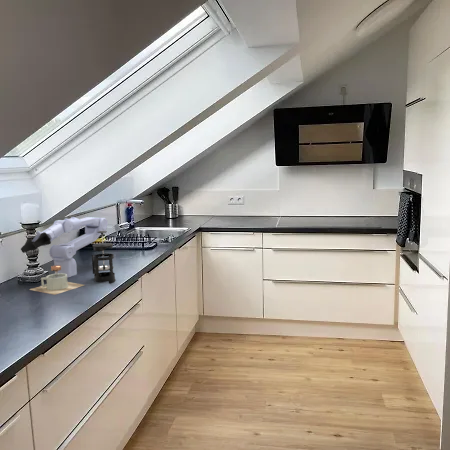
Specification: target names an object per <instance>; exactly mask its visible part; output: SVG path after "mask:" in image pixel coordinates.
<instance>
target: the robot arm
mask: <svg viewBox="0 0 450 450" xmlns="http://www.w3.org/2000/svg"><path fill="white" fill-rule="evenodd" d="M108 225H109V223H108V220H107V218H106V217H93V216H92V217H91V216H86V217H83V218H80V219H79V218H78V217H76V216H71V217H70V218H64V219H57V220H54V222H53V224H52V225H50V226H49V227H48V228H46V229H44V230H42V231H40V230H37V231H36V232H35V234H36V235H35V237H33V239H31V238H30V237H29V238H28V239H27V240H26V241H25V243H24V245H22V247H21V248H20V251H21V252H22V254H25V253H27V252H29V251H36V250H38V248H40V247H46V246H48V245H51V243H52V242H53V241H55V239H57V238H59V237H60V236H62V235H63V234H65V233H67V234H69V233H71V232H72V231H76V230H79V229H80V228H81V227H83V226H85V227H84V234H81V235H80V236H78V237H76V238H74V239H72V240H70V241H68V242H63V243H59V244H52V245H51V246H50V248H49V251H48V252H49V256H50V257H51V258H52V261H53V264H54V265H61V270H59V271H58V273H63V274H67V279H68V278H70V277H73V276H77V275H78V272H77V271H78V269H77V268H78V267H77V262H76V260H75V258H73V257H74V255H76V254H77V251H78V250H80V249H82V248H84V247H86V246H88V245H90V244H92V243H93V242H96V241H97V239H99V237H100V236H101V233H97V232H99V231H107V229H108ZM54 265H53V266H54Z"/></svg>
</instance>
